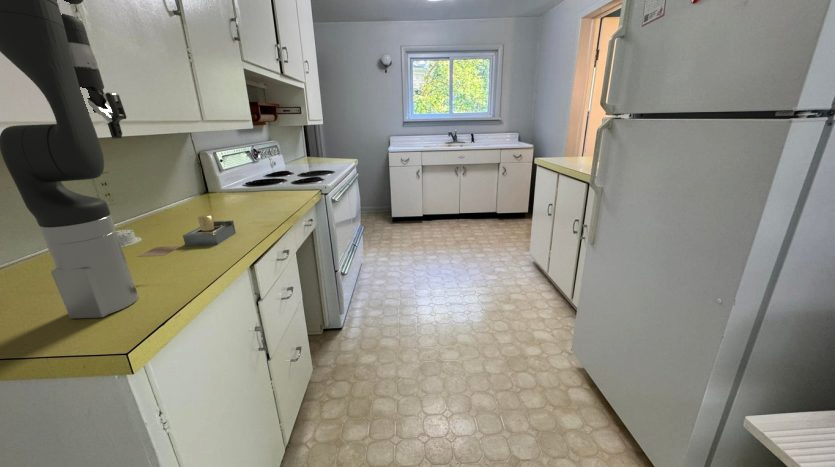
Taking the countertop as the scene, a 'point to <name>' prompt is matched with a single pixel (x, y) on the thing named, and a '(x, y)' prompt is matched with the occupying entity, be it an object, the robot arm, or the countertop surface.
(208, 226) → the translucent brown rounded cylinder
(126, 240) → the mechanical component
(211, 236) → the grey square frame
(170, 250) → the brown square panel
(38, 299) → the countertop surface
